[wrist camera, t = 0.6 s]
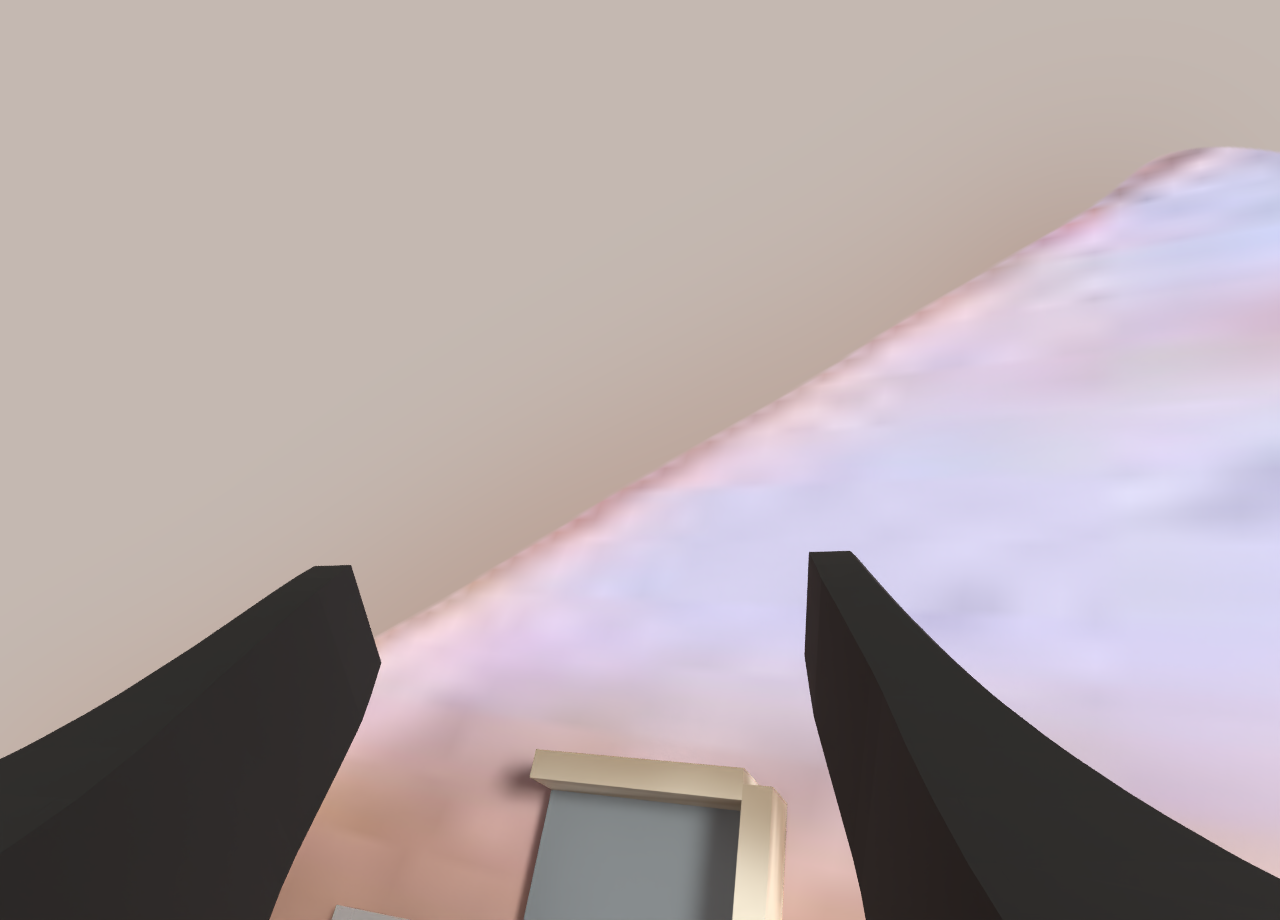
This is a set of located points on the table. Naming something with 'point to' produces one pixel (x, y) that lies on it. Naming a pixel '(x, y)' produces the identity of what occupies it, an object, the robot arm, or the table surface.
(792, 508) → the table surface
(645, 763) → the side wall
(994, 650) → the table surface
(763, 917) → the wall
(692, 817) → the board
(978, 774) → the robot arm
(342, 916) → the bracket
